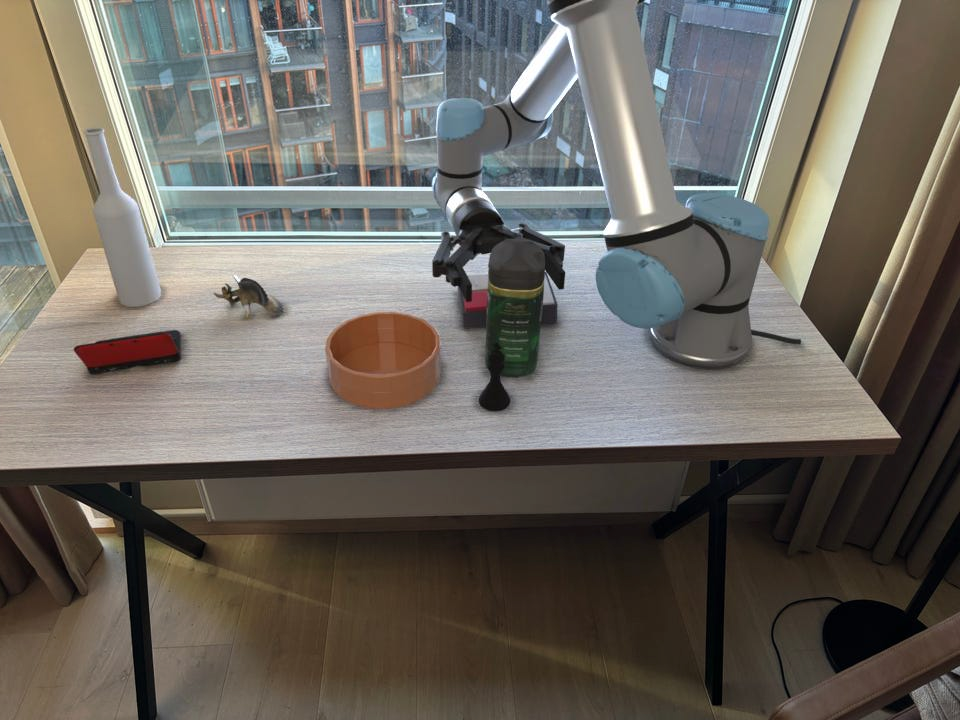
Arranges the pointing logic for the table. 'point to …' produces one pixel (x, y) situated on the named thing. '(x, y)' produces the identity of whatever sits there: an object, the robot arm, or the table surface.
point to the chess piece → (495, 383)
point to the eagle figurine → (251, 296)
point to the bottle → (121, 231)
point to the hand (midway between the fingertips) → (516, 287)
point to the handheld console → (130, 351)
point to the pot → (383, 359)
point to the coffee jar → (515, 304)
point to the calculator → (477, 309)
